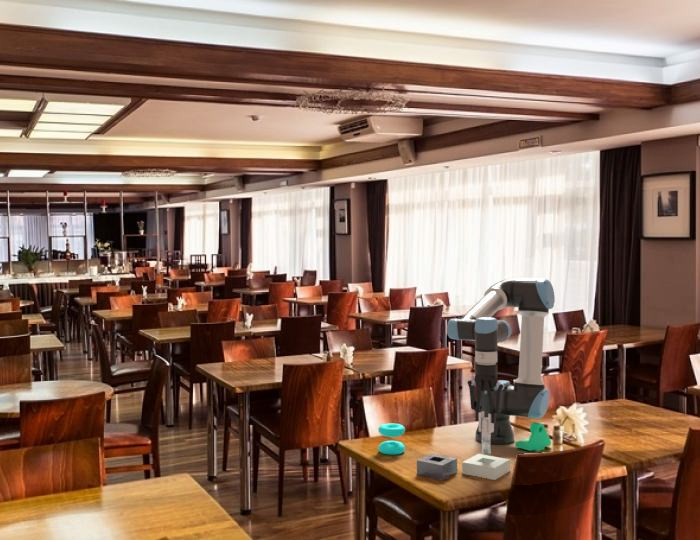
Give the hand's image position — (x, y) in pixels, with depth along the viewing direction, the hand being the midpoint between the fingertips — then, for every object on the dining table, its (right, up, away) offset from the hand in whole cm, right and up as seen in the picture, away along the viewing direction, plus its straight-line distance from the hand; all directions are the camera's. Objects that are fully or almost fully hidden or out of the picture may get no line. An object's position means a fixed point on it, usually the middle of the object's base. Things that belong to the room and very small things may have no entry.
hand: (486, 431), depth 255 cm
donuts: (-31, -14, +26) cm, 43 cm away
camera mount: (+23, -13, +30) cm, 40 cm away
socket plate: (0, -14, +1) cm, 14 cm away
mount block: (-17, -14, 0) cm, 22 cm away
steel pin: (0, -8, 0) cm, 8 cm away
